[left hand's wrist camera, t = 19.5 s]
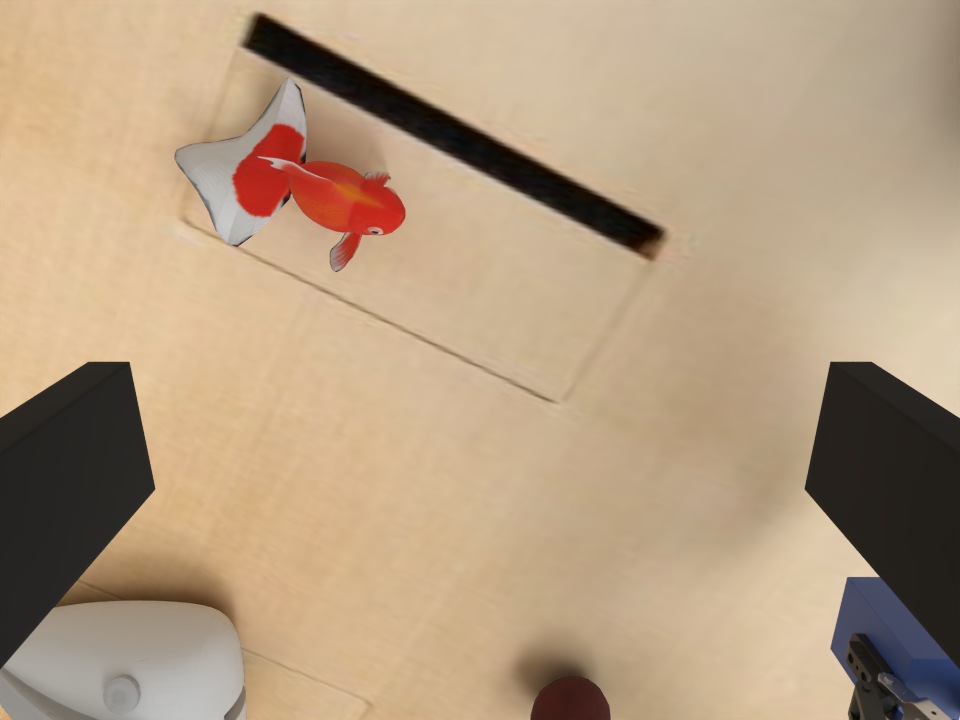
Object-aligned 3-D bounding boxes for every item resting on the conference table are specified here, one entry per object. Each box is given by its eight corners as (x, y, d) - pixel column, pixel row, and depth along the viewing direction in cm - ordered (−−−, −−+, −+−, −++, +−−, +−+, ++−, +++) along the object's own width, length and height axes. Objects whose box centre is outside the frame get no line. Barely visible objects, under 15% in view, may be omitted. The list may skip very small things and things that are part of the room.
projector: (117, 505, 56) (0, 632, 42) (319, 654, 62) (273, 808, 48) (-20, 645, 61) (-163, 797, 48) (177, 769, 67) (100, 937, 54)
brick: (829, 648, 50) (889, 737, 42) (847, 576, 47) (912, 658, 40) (884, 648, 50) (952, 737, 42) (904, 576, 47) (980, 658, 40)
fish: (350, 337, 46) (287, 299, 36) (200, 217, 49) (105, 153, 40) (445, 217, 46) (407, 147, 36) (288, 106, 50) (216, 17, 40)
